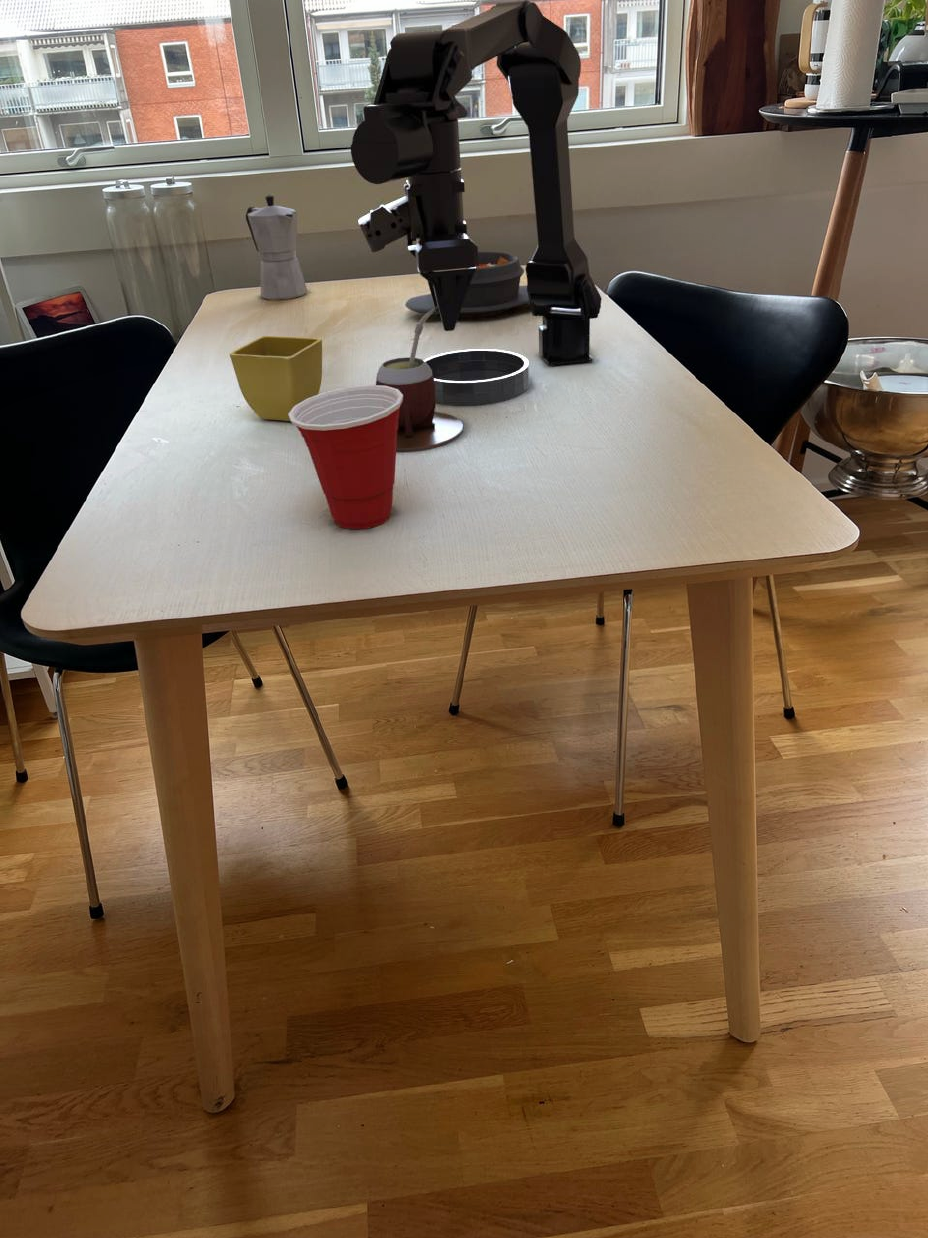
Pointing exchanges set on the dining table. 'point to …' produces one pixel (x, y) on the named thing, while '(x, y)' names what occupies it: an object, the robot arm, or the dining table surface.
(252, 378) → the flower pot
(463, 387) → the pan
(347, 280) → the dining table surface
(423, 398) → the mate gourd
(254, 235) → the coffeepot
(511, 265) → the casserole
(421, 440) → the disc
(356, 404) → the plastic cup
